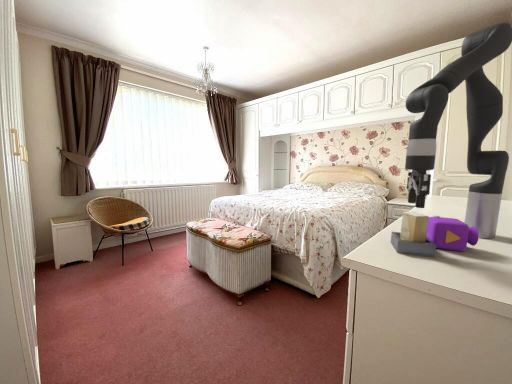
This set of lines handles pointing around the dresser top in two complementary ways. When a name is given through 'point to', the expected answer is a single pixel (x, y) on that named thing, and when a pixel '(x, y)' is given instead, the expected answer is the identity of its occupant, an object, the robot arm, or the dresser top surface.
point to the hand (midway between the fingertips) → (415, 205)
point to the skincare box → (414, 227)
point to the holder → (413, 246)
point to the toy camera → (451, 233)
